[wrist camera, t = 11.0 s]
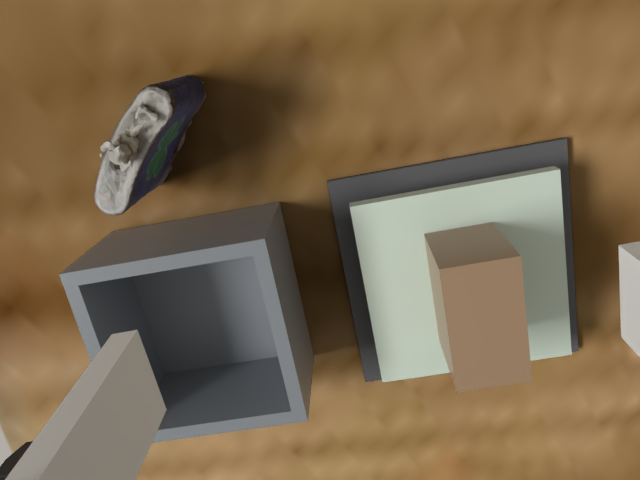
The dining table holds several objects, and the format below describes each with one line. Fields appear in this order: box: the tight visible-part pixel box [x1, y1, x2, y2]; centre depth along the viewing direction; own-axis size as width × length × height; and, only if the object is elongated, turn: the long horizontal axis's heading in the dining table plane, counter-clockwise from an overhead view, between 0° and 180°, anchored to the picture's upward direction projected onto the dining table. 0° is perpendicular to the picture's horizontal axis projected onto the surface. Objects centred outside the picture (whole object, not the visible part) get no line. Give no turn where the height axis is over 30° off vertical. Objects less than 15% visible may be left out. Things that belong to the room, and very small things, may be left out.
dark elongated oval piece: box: [94, 75, 206, 215], centre depth 38 cm, size 9×3×11 cm, turn 150°
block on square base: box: [349, 166, 572, 392], centre depth 41 cm, size 15×15×10 cm
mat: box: [327, 138, 579, 382], centre depth 46 cm, size 18×18×1 cm
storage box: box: [59, 202, 314, 443], centre depth 43 cm, size 14×14×9 cm
